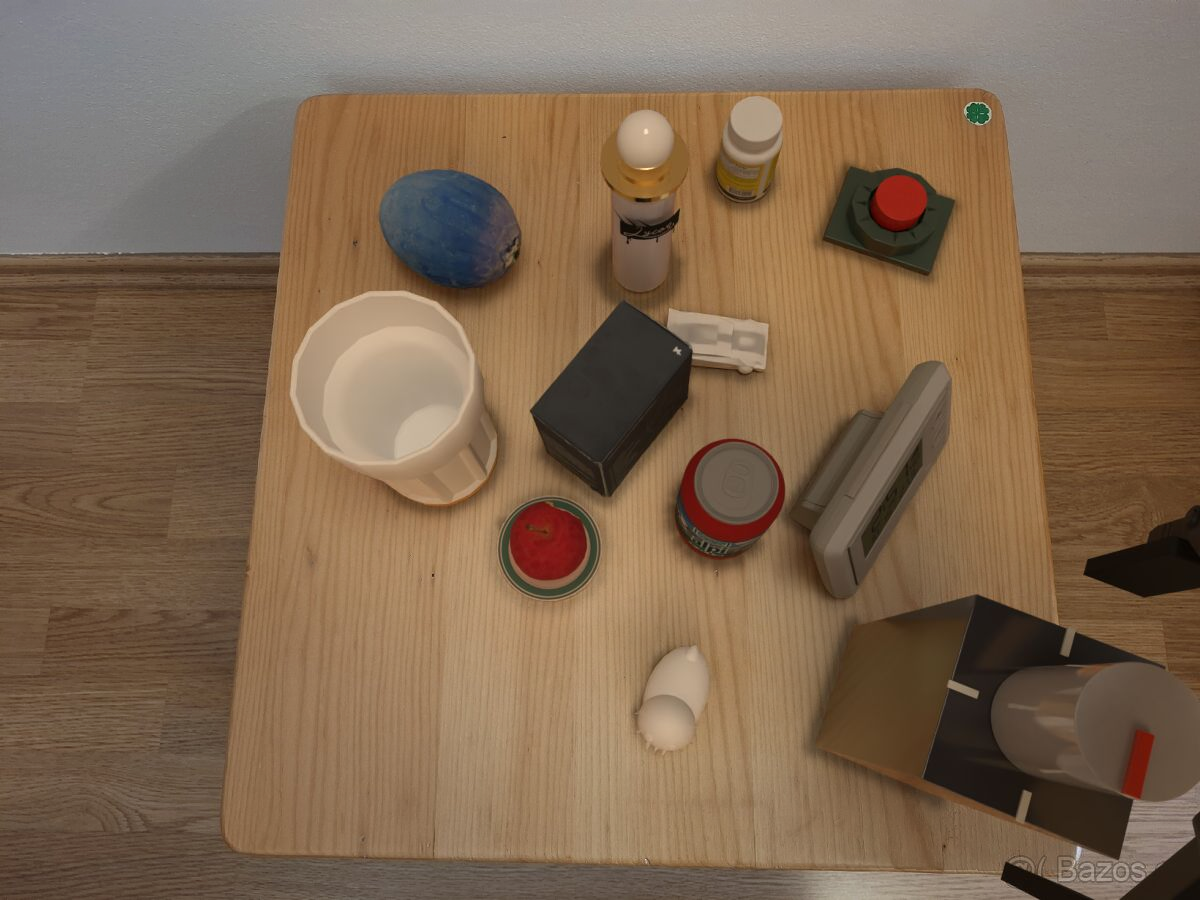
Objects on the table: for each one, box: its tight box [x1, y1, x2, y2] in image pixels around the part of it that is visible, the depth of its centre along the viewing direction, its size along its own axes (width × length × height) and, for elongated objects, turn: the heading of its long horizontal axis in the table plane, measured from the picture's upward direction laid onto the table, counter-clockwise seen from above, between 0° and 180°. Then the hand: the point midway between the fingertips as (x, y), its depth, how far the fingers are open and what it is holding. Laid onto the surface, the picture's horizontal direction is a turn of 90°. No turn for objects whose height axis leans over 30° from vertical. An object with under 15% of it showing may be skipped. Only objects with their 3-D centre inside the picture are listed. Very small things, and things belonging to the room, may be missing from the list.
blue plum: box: [378, 168, 553, 291], centre depth 70 cm, size 9×9×15 cm
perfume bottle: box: [599, 108, 690, 293], centre depth 64 cm, size 6×6×20 cm
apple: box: [496, 495, 603, 602], centre depth 65 cm, size 8×8×6 cm
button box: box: [822, 165, 956, 276], centre depth 73 cm, size 9×7×2 cm
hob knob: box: [991, 662, 1200, 803], centre depth 37 cm, size 5×5×8 cm
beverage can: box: [674, 437, 786, 560], centre depth 62 cm, size 7×7×12 cm
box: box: [529, 299, 693, 498], centre depth 65 cm, size 11×7×10 cm, turn 142°
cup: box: [288, 289, 499, 507], centre depth 62 cm, size 11×11×17 cm
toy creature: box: [632, 644, 711, 759], centre depth 62 cm, size 5×8×6 cm, turn 157°
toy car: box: [666, 307, 770, 375], centre depth 70 cm, size 5×8×2 cm, turn 83°
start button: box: [870, 175, 927, 231], centre depth 71 cm, size 4×4×2 cm
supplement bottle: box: [715, 95, 784, 203], centre depth 71 cm, size 5×5×8 cm
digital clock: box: [789, 360, 953, 599], centre depth 63 cm, size 16×9×11 cm, turn 134°
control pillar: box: [813, 593, 1166, 861], centre depth 52 cm, size 9×9×24 cm
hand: (1076, 725), depth 38 cm, fingers open, 13 cm apart
